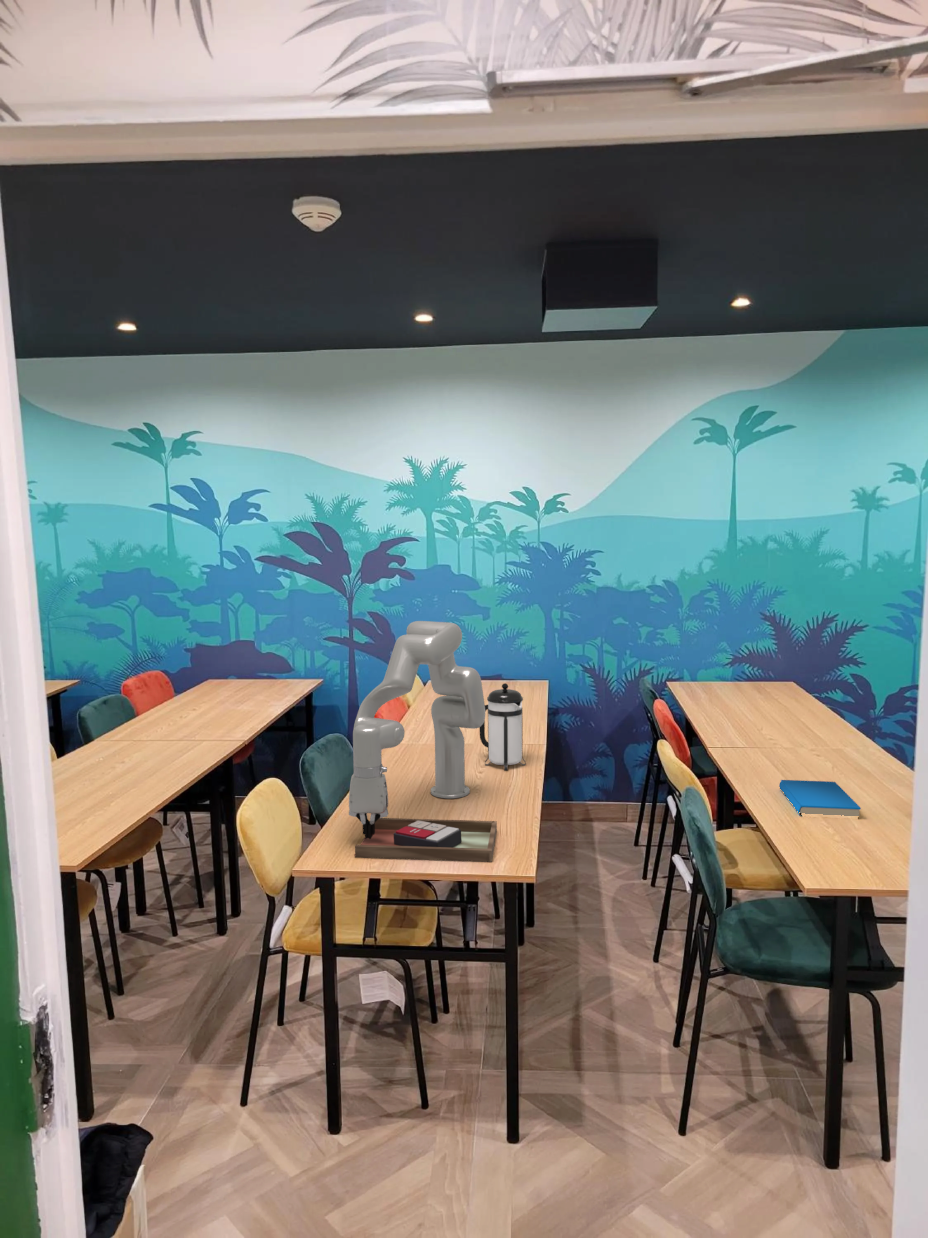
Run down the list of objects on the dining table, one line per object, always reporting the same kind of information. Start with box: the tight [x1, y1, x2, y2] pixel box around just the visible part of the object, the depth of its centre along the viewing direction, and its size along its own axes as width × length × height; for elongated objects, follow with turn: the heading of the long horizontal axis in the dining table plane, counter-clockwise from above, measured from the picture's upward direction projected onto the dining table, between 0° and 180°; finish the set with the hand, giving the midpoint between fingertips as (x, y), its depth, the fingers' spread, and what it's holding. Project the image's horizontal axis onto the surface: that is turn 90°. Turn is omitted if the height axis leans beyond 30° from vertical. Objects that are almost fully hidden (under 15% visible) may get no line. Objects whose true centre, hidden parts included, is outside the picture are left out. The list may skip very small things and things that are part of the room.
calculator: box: [394, 821, 462, 848], centre depth 213 cm, size 11×4×15 cm
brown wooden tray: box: [353, 817, 498, 863], centre depth 213 cm, size 21×36×3 cm, turn 84°
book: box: [778, 779, 862, 817], centre depth 242 cm, size 17×4×25 cm
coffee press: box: [479, 683, 527, 772], centre depth 285 cm, size 17×16×30 cm
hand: (369, 836), depth 214 cm, fingers closed
